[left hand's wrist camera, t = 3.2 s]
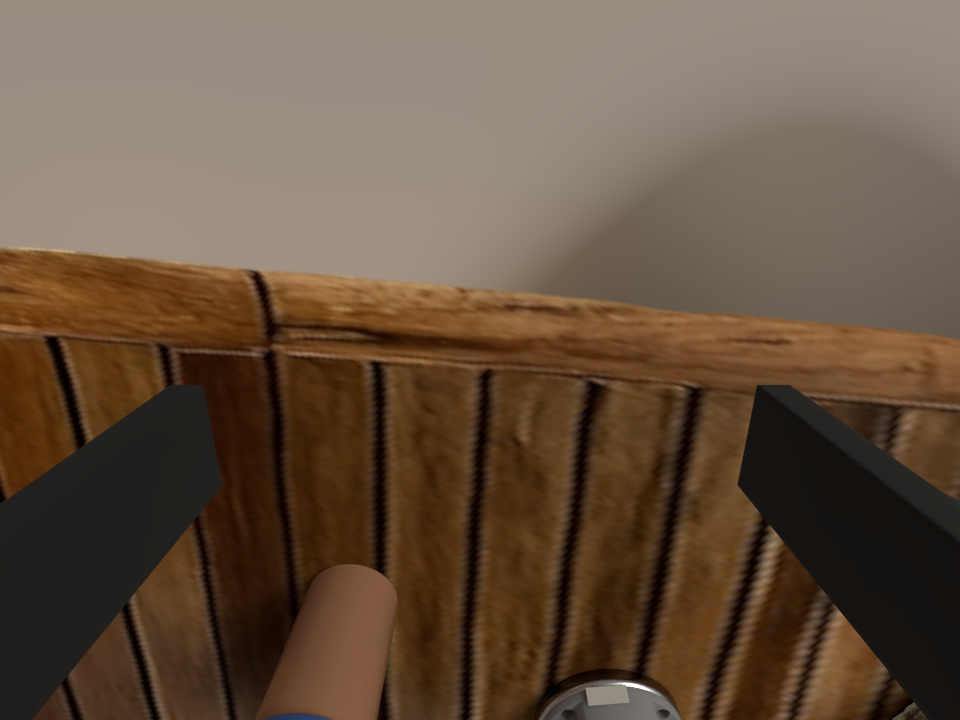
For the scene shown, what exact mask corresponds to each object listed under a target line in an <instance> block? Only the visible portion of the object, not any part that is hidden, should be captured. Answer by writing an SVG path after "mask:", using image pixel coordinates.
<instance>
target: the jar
mask: <svg viewBox="0 0 960 720" xmlns="http://www.w3.org/2000/svg"><path fill="white" fill-rule="evenodd" d="M397 609H398V597H397V593H396V590H395V588H394V587H393V585H392V584H391V582H390V581H389V580H388V579H387V578H386V577H385V576H384V575H382V574H381V573H379V572H378V571H376V570H374V569H372V568H369V567H366V566H362V565H357V564H341V565H336V566H333V567H330V568H327V569H325V570H324V571H322V572H320V573H319V574H318V575H317V576H316V577H315V578H314V579H313V580H312V582H311V583H310V586H309V588H308V590H307V593H306V595H305V598H304V600H303V603H302V605H301V608H300V610H299V612H298V615H297V617H296V620H295V622H294V625H293V627H292V630H291V632H290V635H289V637H288V639H287V642H286V644H285V647H284V649H283V652H282V654H281V657H280V659H279V662H278V664H277V666H276V669H275V671H274V674H273V676H272V679H271V681H270V684H269V686H268V688H267V691H266V693H265V696H264V698H263V701H262V703H261V706H260V708H259V711H258V713H257V715H256V718H255V720H263V719H266V718H269V717H273V716H277V715H283V714H309V715H315V716H320V717H324V718H328V719H331V720H377V716H378V710H379V705H380V700H381V694H382V689H383V683H384V678H385V673H386V667H387V662H388V657H389V651H390V646H391V641H392V635H393V630H394V625H395V619H396V614H397Z"/></svg>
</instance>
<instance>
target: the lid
mask: <svg viewBox="0 0 960 720" xmlns="http://www.w3.org/2000/svg"><path fill="white" fill-rule="evenodd" d="M263 720H331V719H328V718H324V717H320V716H315V715H309V714H283V715H277V716H273V717H269V718H266V719H263Z"/></svg>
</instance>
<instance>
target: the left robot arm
mask: <svg viewBox="0 0 960 720" xmlns="http://www.w3.org/2000/svg"><path fill="white" fill-rule="evenodd" d="M221 486H222V480H221V475H220V470H219V465H218V460H217V455H216V450H215V445H214V440H213V435H212V430H211V424H210V419H209V414H208V409H207V404H206V399H205V394H204V389H203V385H170V386H168V387H167V388H166V389H164V390H163V391H161V392H160V393H158V394H157V395H156V396H154V397H153V398H151V399H150V400H148V401H147V402H146V403H144V404H143V405H141V406H140V407H138V408H137V409H136V410H134V411H133V412H131V413H130V414H128V415H127V416H126V417H124V418H123V419H121V420H120V421H119V422H117V423H116V424H114V425H113V426H111V427H110V428H109V429H107V430H106V431H104V432H103V433H101V434H100V435H99V436H97V437H96V438H94V439H93V440H91V441H90V442H89V443H87V444H86V445H84V446H83V447H81V448H80V449H79V450H77V451H76V452H74V453H73V454H71V455H70V456H69V457H67V458H66V459H64V460H63V461H62V462H60V463H59V464H57V465H56V466H54V467H53V468H52V469H50V470H49V471H47V472H46V473H44V474H43V475H42V476H40V477H39V478H37V479H36V480H34V481H33V482H32V483H30V484H29V485H27V486H26V487H24V488H23V489H22V490H20V491H19V492H17V493H16V494H15V495H13V496H12V497H10V498H9V499H7V500H6V501H4V502H1V503H0V720H32V719H33V718H34V716H35V715H36V714H37V713H38V711H39V710H40V709H41V708H42V706H43V705H44V704H45V703H46V702H47V700H48V699H49V698H50V697H51V695H52V694H53V693H54V692H55V690H56V689H57V688H58V687H59V686H60V684H61V683H62V682H63V681H64V679H65V678H66V677H67V676H68V674H69V673H70V672H71V671H72V670H73V668H74V667H75V666H76V665H77V663H78V662H79V661H80V660H81V658H82V657H83V656H84V655H85V654H86V652H87V651H88V650H89V649H90V647H91V646H92V645H93V644H94V642H95V641H96V640H97V639H98V637H99V636H100V635H101V634H102V633H103V631H104V630H105V629H106V628H107V626H108V625H109V624H110V623H111V621H112V620H113V619H114V618H115V617H116V615H117V614H118V613H119V612H120V610H121V609H122V608H123V607H124V605H125V604H126V603H127V602H128V601H129V599H130V598H131V597H132V596H133V594H134V593H135V592H136V591H137V589H138V588H139V587H140V586H141V585H142V583H143V582H144V581H145V580H146V578H147V577H148V576H149V575H150V573H151V572H152V571H153V570H154V569H155V567H156V566H157V565H158V564H159V562H160V561H161V560H162V559H163V557H164V556H165V555H166V554H167V553H168V551H169V550H170V549H171V548H172V546H173V545H174V544H175V543H176V541H177V540H178V539H179V538H180V537H181V535H182V534H183V533H184V532H185V530H186V529H187V528H188V527H189V525H190V524H191V523H192V522H193V521H194V519H195V518H196V517H197V516H198V514H199V513H200V512H201V511H202V509H203V508H204V507H205V506H206V505H207V503H208V502H209V501H210V500H211V498H212V497H213V496H214V495H215V493H216V492H217V491H218V490H219V489H220V487H221ZM738 486H739V487H740V489H741V490H742V491H743V492H744V493H745V495H746V496H747V497H748V498H749V500H750V501H751V502H752V503H753V505H754V506H755V507H756V508H757V509H758V511H759V512H760V513H761V514H762V516H763V517H764V518H765V519H766V521H767V522H768V523H769V524H770V525H771V527H772V528H773V529H774V530H775V532H776V533H777V534H778V535H779V537H780V538H781V539H782V540H783V541H784V543H785V544H786V545H787V546H788V548H789V549H790V550H791V551H792V553H793V554H794V555H795V556H796V557H797V559H798V560H799V561H800V562H801V564H802V565H803V566H804V567H805V569H806V570H807V571H808V572H809V573H810V575H811V576H812V577H813V578H814V580H815V581H816V582H817V583H818V585H819V586H820V587H821V588H822V589H823V591H824V592H825V593H826V594H827V596H828V597H829V598H830V599H831V601H832V602H833V603H834V604H835V605H836V607H837V608H838V609H839V610H840V612H841V613H842V614H843V615H844V617H845V618H846V619H847V620H848V621H849V623H850V624H851V625H852V626H853V628H854V629H855V630H856V631H857V633H858V634H859V635H860V636H861V637H862V639H863V640H864V641H865V642H866V644H867V645H868V646H869V647H870V649H871V650H872V651H873V652H874V654H875V655H876V656H877V657H878V658H879V660H880V661H881V662H882V663H883V665H884V666H885V667H886V668H887V670H888V671H889V672H890V673H891V674H892V676H893V677H894V678H895V679H896V681H897V682H898V683H899V684H900V686H901V687H902V688H903V689H904V690H905V692H906V693H907V694H908V695H909V697H910V698H911V699H912V700H913V702H914V703H915V704H916V705H917V706H918V708H919V709H920V710H921V711H922V713H923V714H924V715H925V716H926V718H927V719H928V720H960V501H959V500H957V499H955V498H953V497H951V496H949V495H947V494H944V493H943V492H941V491H940V490H938V489H937V488H936V487H934V486H933V485H931V484H930V483H928V482H927V481H926V480H924V479H923V478H921V477H920V476H918V475H917V474H916V473H914V472H913V471H911V470H910V469H908V468H907V467H906V466H904V465H903V464H901V463H900V462H898V461H897V460H896V459H894V458H893V457H891V456H890V455H889V454H887V453H886V452H884V451H883V450H881V449H880V448H879V447H877V446H876V445H874V444H873V443H871V442H870V441H869V440H867V439H866V438H864V437H863V436H861V435H860V434H859V433H857V432H856V431H854V430H853V429H851V428H850V427H849V426H847V425H846V424H844V423H843V422H841V421H840V420H839V419H837V418H836V417H834V416H833V415H832V414H830V413H829V412H827V411H826V410H824V409H823V408H822V407H820V406H819V405H817V404H816V403H814V402H813V401H812V400H810V399H809V398H807V397H806V396H804V395H803V394H802V393H800V392H799V391H797V390H796V389H794V388H793V387H792V386H790V385H757V389H756V394H755V399H754V404H753V409H752V414H751V419H750V424H749V430H748V435H747V440H746V445H745V450H744V455H743V460H742V465H741V470H740V475H739V480H738ZM534 720H682V719H681V717H680V714H679V711H678V708H677V706H676V703H675V701H674V699H673V697H672V696H671V694H670V693H669V692H668V691H667V689H665V688H664V687H663V686H662V685H661V684H659V683H658V682H656V681H655V680H653V679H651V678H649V677H647V676H644V675H641V674H638V673H635V672H630V671H623V670H600V671H594V672H589V673H585V674H581V675H578V676H575V677H573V678H571V679H568V680H566V681H565V682H563V683H561V684H560V685H558V686H557V687H555V688H554V689H553V690H551V691H550V692H549V693H548V694H547V695H546V696H545V697H544V699H543V700H542V701H541V703H540V705H539V706H538V708H537V711H536V714H535V717H534Z"/></svg>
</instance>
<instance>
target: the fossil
mask: <svg viewBox="0 0 960 720" xmlns="http://www.w3.org/2000/svg"><path fill="white" fill-rule="evenodd" d="M892 720H928V719H927V718H926V716H925V715H924V714H923V713H922V711H921V710H920V709H919V708H918V706H917V705H916V704H915V703H912V704H911V705H909V706H908V707H906V709H905V710H904V712H902V713H901V714H899V715H898V716H896V717H894V718H893V719H892Z"/></svg>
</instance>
